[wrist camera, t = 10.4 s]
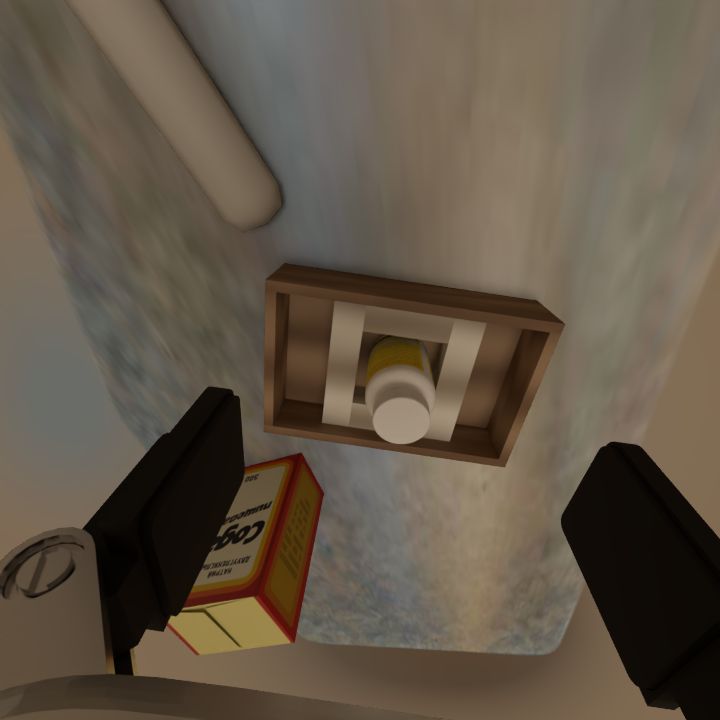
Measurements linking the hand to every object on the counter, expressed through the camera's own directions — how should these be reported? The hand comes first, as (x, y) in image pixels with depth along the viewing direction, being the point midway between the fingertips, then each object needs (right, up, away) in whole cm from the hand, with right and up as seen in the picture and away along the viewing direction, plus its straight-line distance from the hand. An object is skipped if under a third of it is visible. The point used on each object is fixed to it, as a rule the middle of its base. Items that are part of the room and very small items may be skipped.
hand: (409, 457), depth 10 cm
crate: (+2, +3, +25) cm, 25 cm away
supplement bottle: (+2, +3, +24) cm, 24 cm away
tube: (-15, +24, +16) cm, 32 cm away
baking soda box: (-11, -12, +34) cm, 37 cm away
